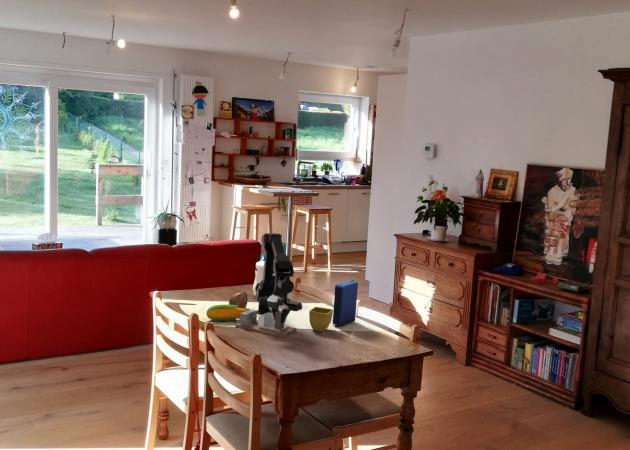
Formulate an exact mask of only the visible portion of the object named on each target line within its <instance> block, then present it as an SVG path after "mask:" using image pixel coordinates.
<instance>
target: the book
mask: <svg viewBox="0 0 630 450" xmlns="http://www.w3.org/2000/svg"><path fill="white" fill-rule="evenodd" d="M358 291H359V282H358V280H357V281H356V280H353V279H350V280H348V281H344V282H341V283H336V284H335V285H334V297H333V314H332V325H333V326H338V327H343V326H347V325H349V324H350V323H354V322H356V314H357V302H358V301H357V300H358Z"/></svg>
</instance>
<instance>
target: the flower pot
mask: <svg viewBox="0 0 630 450" xmlns="http://www.w3.org/2000/svg"><path fill="white" fill-rule="evenodd" d="M333 310H334V308H333V309H332V308H327V307H321V306H320V307H319V306H314V307H312V308H311V309H309V312H308V314H309V318H308V319H309V324H310V326H311V328H312V330H313V331H320V332H325V331H326V330H328V328H329V326H330V324H331V322H332V320H333Z"/></svg>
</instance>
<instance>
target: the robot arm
mask: <svg viewBox="0 0 630 450" xmlns="http://www.w3.org/2000/svg"><path fill="white" fill-rule="evenodd" d="M261 243H262V246H263V249H264V250H265V251H264V260H263V261H264V271H263V280H262V281H261V282H260V283H259V288H258V289H257V292H256V296H255V300H256V301H257V302H258V307H257V308H258V309H257V314H261V315H263V314H265V313H273V321H275V312H276V311H278V310H280V307H283V308H282V309H281V311H282V312H283V314H282V324H283V323H284V324H285V322H286V319H287V317H288V316H289V314H290V312H292V311H293V312H298V311H300V310H303V304H302V302H300V301H292V302H290V298H288V295H289V294H290V293H292V292H293V291H294V288H295V284H294V282H293V281H292V280H291V277H294V274H295V270H294V264H293V262H292V261H291V258H290V256H288V255H287V254H286V253H285V249H284V245H283V241H282V234H280V233H275V232H271V233H270V232H269V233H268V232H265V233H264V234H262V235H261ZM273 269H274V274H275V276H276V277H275V286H274V284H273V282H272V278H273ZM284 272H285V273H284Z"/></svg>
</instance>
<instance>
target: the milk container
mask: <svg viewBox="0 0 630 450" xmlns="http://www.w3.org/2000/svg"><path fill="white" fill-rule="evenodd" d="M254 270H255V271H254V272H255V274H254V276H255V277H254V282H253V285H252V293H253V295H254V297H256V292H257V289H258V288H259V283H260V282H261V281H262V280H263V271H264V260H261V261H257V262H256V263H255V269H254ZM284 273H286V272H284ZM275 277H276V276H275V274H274V269H273V278H272V282H273V284H274V286H275Z"/></svg>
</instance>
